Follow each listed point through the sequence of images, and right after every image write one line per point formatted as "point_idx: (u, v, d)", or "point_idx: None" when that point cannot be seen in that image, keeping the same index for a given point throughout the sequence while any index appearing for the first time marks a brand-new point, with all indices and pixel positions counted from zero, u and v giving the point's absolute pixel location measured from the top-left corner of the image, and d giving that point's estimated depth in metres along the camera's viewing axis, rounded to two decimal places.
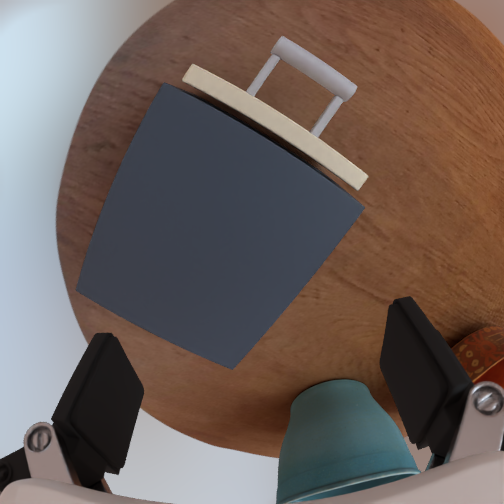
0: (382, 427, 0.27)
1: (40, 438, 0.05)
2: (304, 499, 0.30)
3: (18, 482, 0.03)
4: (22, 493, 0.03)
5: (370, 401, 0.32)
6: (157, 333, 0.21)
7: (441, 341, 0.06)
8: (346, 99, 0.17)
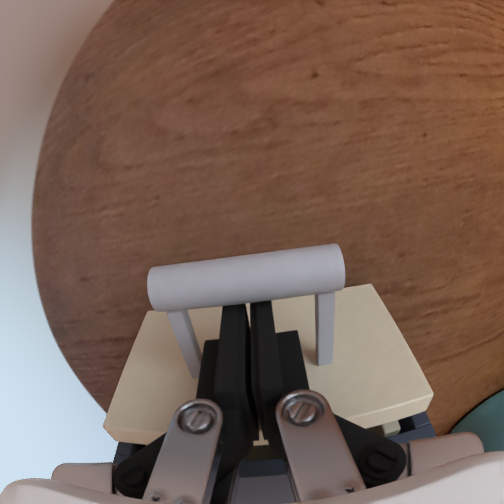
0: None
1: (196, 418, 0.06)
2: None
3: (18, 482, 0.03)
4: (22, 493, 0.03)
5: None
6: None
7: (273, 341, 0.08)
8: (338, 290, 0.09)
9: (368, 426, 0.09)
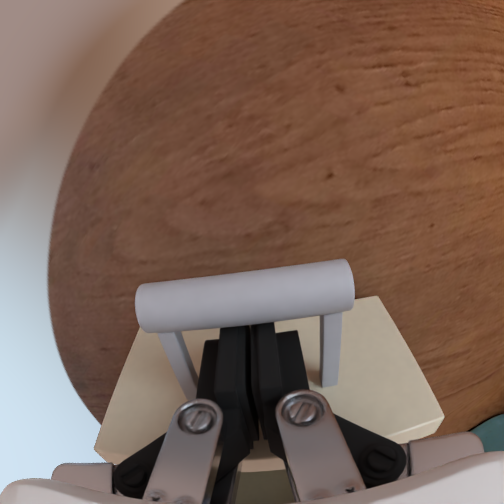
0: None
1: (196, 418, 0.06)
2: None
3: (18, 482, 0.03)
4: (22, 493, 0.03)
5: None
6: None
7: (273, 341, 0.08)
8: (346, 310, 0.08)
9: None
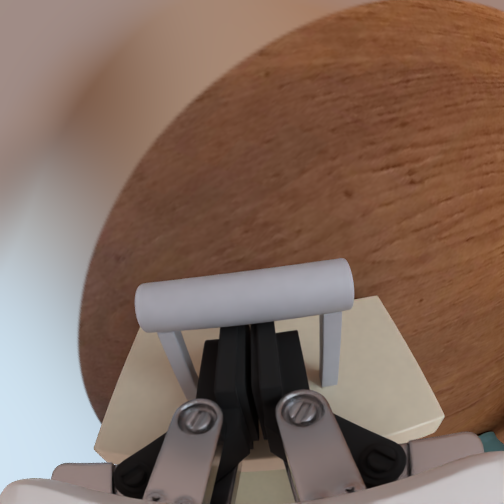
0: None
1: (196, 418, 0.06)
2: None
3: (18, 482, 0.03)
4: (22, 493, 0.03)
5: None
6: None
7: (273, 341, 0.08)
8: (346, 310, 0.08)
9: None
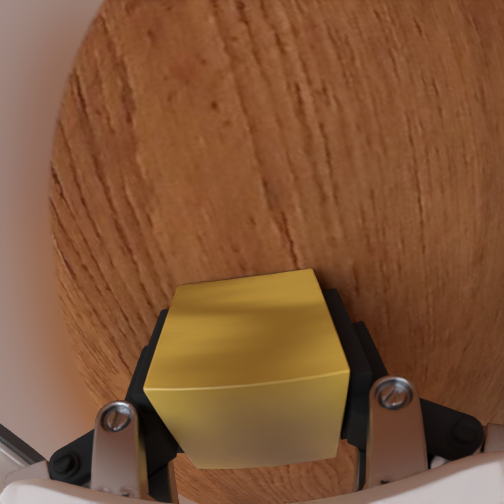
0: None
1: (116, 418, 0.06)
2: None
3: (18, 482, 0.03)
4: (22, 493, 0.03)
5: None
6: None
7: (353, 331, 0.08)
8: None
9: None
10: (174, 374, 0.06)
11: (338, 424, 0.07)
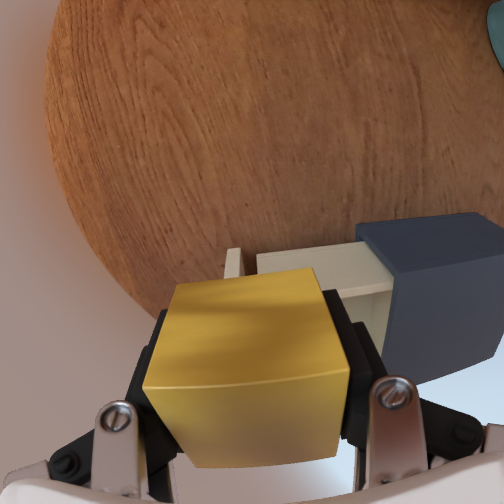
0: None
1: (116, 418, 0.06)
2: None
3: (18, 482, 0.03)
4: (22, 493, 0.03)
5: None
6: None
7: (353, 331, 0.08)
8: None
9: None
10: (173, 373, 0.06)
11: (338, 423, 0.07)
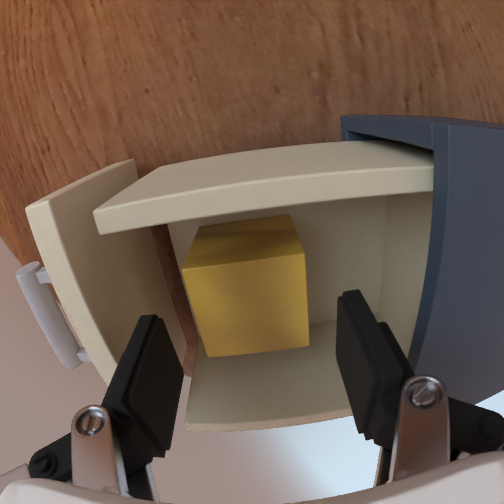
0: None
1: (91, 422, 0.06)
2: None
3: (18, 482, 0.03)
4: (22, 493, 0.03)
5: None
6: None
7: (380, 332, 0.07)
8: (31, 273, 0.11)
9: (70, 274, 0.08)
10: (201, 261, 0.11)
11: (305, 304, 0.11)
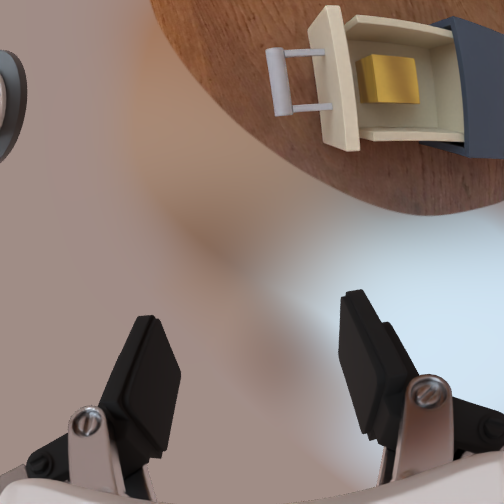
0: None
1: (87, 422, 0.06)
2: None
3: (18, 482, 0.03)
4: (22, 493, 0.03)
5: None
6: None
7: (384, 332, 0.07)
8: (282, 49, 0.20)
9: (343, 31, 0.17)
10: None
11: (416, 80, 0.21)
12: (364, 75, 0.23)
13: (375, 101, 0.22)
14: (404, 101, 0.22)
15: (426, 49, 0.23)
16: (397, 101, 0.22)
